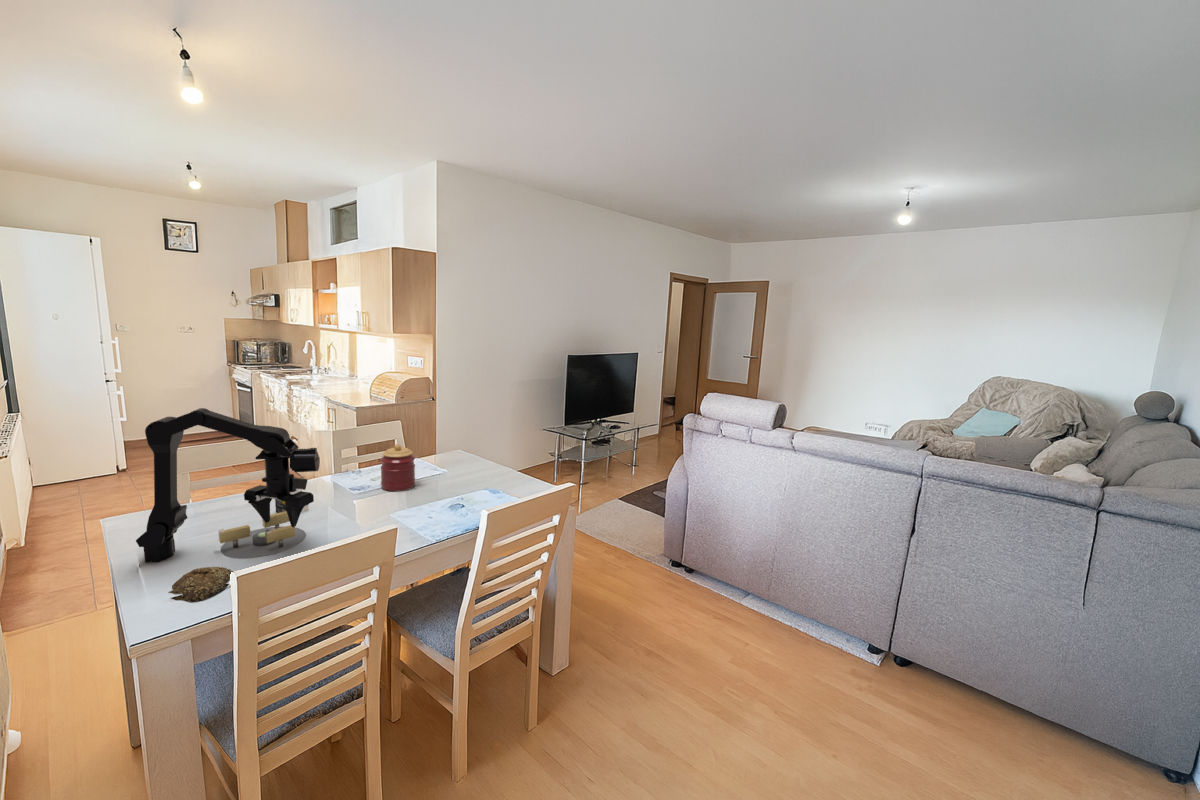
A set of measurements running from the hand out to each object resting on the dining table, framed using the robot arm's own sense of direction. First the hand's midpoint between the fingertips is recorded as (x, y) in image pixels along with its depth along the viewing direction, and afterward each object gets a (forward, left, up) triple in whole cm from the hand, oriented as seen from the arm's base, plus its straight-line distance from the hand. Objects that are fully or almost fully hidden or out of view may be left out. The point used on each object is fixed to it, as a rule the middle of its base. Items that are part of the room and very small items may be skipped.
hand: (280, 524), depth 142 cm
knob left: (0, +12, -7) cm, 14 cm away
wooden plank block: (+10, +6, -7) cm, 14 cm away
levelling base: (+3, +6, -8) cm, 11 cm away
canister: (+55, -18, -8) cm, 59 cm away
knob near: (0, 0, -7) cm, 7 cm away
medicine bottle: (+26, +9, -8) cm, 29 cm away
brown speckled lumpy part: (-20, +10, -9) cm, 23 cm away
